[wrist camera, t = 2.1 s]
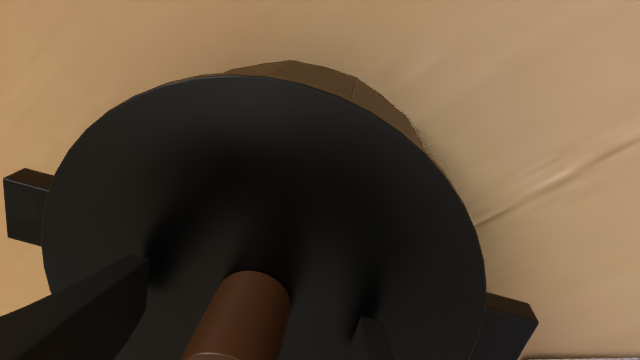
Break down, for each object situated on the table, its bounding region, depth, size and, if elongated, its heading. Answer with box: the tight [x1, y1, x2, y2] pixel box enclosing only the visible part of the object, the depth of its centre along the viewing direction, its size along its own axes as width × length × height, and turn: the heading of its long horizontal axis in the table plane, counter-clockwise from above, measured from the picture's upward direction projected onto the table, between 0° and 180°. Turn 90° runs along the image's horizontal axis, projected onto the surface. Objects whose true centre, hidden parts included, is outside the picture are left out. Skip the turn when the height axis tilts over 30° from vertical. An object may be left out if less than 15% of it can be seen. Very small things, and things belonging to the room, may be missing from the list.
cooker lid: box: [41, 72, 486, 360], centre depth 12 cm, size 14×14×4 cm
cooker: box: [3, 60, 539, 360], centre depth 16 cm, size 13×18×6 cm
